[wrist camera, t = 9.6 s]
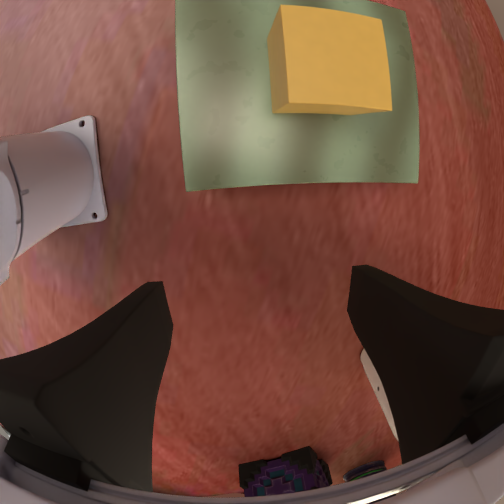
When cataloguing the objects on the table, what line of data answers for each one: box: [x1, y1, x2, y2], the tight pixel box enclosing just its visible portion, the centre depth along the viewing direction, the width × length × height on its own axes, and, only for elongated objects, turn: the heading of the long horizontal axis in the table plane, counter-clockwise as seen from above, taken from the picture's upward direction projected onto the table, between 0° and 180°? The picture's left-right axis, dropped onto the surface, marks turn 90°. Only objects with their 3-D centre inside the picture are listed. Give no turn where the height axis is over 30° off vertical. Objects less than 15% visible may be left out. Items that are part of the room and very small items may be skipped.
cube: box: [267, 5, 392, 115], centre depth 10 cm, size 4×4×4 cm
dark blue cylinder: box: [343, 461, 396, 504], centre depth 36 cm, size 10×10×15 cm
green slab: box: [175, 0, 419, 192], centre depth 14 cm, size 14×12×4 cm
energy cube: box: [239, 446, 332, 497], centre depth 31 cm, size 12×12×12 cm
